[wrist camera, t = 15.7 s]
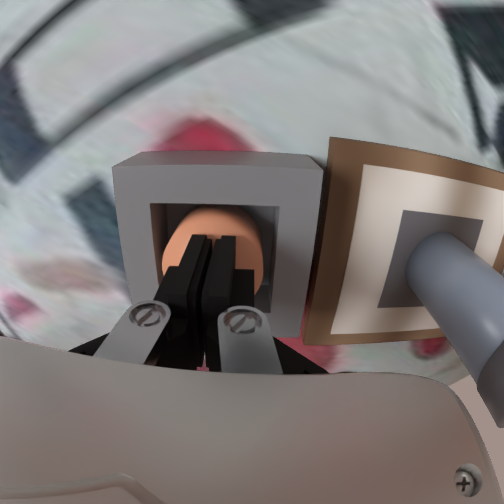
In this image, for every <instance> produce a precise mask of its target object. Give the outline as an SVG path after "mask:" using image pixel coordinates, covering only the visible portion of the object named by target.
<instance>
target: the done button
mask: <svg viewBox="0 0 504 504" xmlns="http://www.w3.org/2000/svg"><path fill="white" fill-rule="evenodd" d="M192 234H200V235H207V238H208V239H212V251H213V248H214V244H215V240H216V239H221V236H222V235H228V236H236V263H235V269H254V295H255V294H256V292H257V291H258V289H259V287H260V285H261V282H262V279H263V254H262V239H261V233H260V230H259V228H258V226H257V224H256V222H255V221H254V219H253V218H252V217H251V216H250V215H249V214H248V213H247V212H246V211H244V210H243V209H241V208H239V207H237V206H235V205H231V204H201V205H199V206H197V207H195V208H193V209H192V210H190V211H189V212H188V213H187V214H186V215H185V216H184V217H183V219H182V220H181V222H180V223H179V225H178V227H177V229H176V230H175V232H174V234H173V236H172V237H171V239H170V241H169V243H168V245H167V246H166V249H165V251H164V254H163V259H162V270H163V275H165V273H166V271H167V269H168V267H169V266H179V263H180V261H181V259H182V256H183V254H184V252H185V249H186V247H187V245H188V242H189V240H190V238H191V236H192Z"/></svg>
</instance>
